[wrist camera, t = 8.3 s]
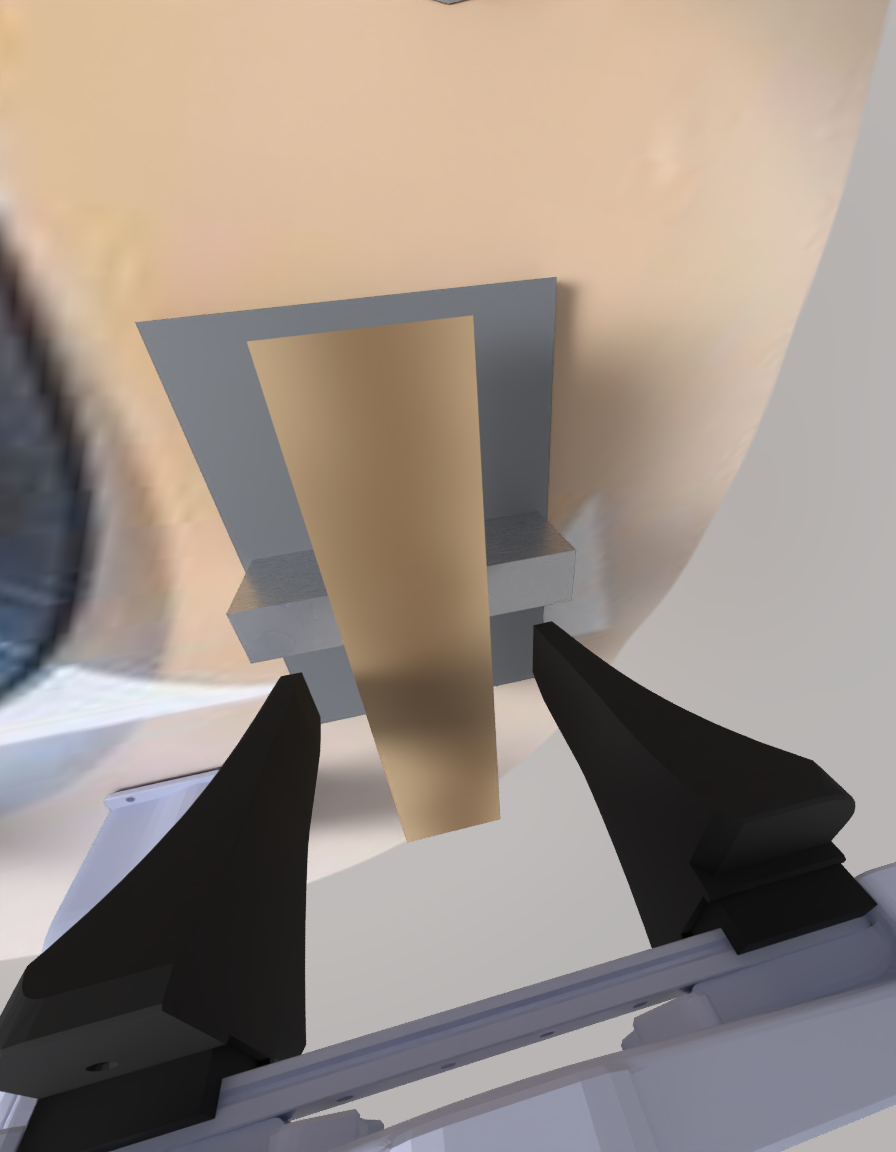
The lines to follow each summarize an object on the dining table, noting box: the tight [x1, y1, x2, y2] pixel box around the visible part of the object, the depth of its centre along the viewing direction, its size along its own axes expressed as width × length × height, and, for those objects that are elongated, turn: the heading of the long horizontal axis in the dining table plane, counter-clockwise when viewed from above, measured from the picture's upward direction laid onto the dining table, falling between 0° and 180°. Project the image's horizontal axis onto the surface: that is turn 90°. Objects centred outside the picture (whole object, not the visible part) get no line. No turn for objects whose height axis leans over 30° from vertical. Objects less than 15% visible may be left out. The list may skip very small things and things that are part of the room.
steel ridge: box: [226, 511, 576, 663], centre depth 17 cm, size 13×2×4 cm, turn 96°
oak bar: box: [247, 315, 500, 842], centre depth 14 cm, size 4×18×4 cm, turn 6°
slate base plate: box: [135, 277, 557, 724], centre depth 19 cm, size 14×20×1 cm
